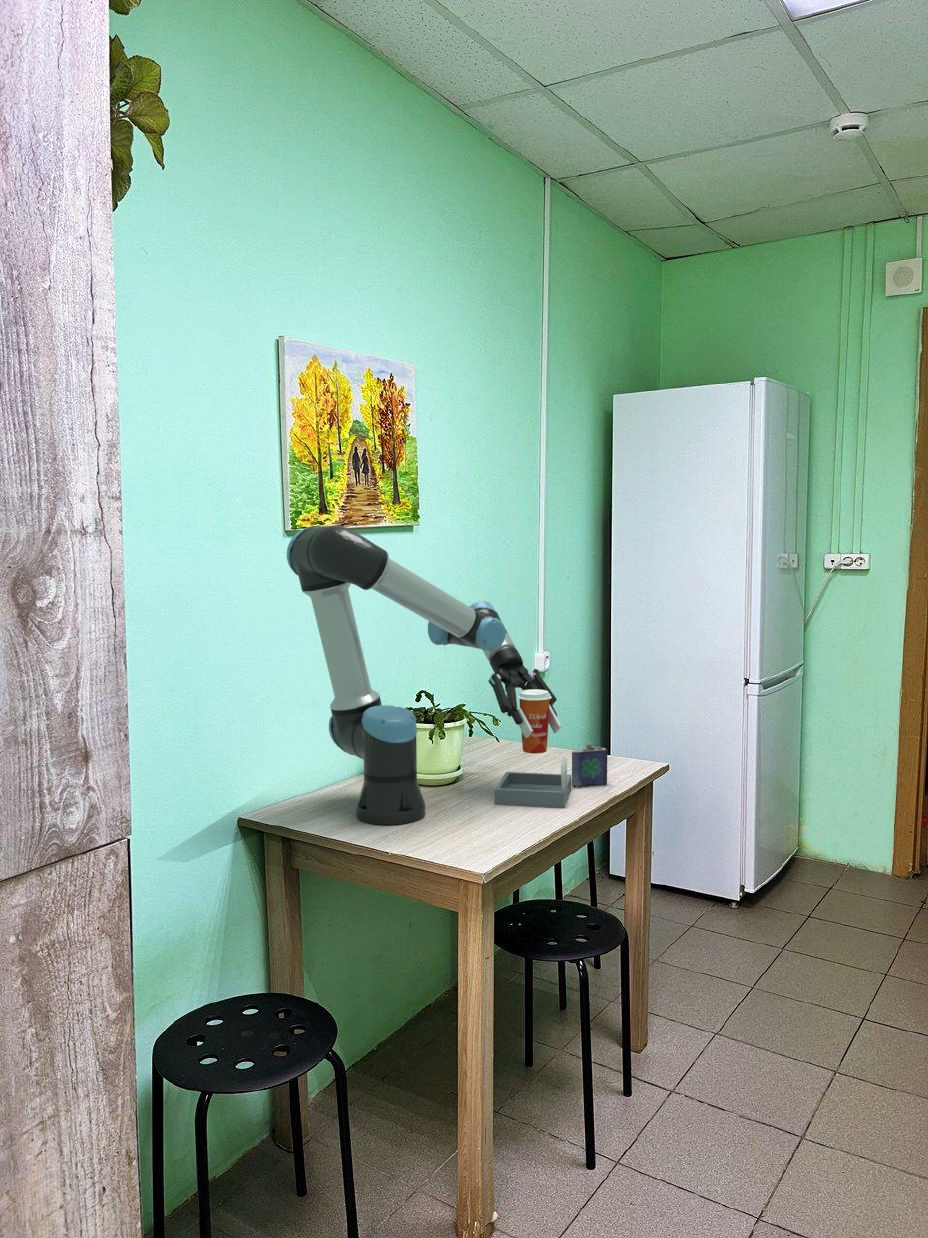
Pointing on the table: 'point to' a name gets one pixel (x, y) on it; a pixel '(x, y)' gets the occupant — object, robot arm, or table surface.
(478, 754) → the table surface
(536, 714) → the paper cup
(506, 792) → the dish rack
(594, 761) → the flask
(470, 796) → the table surface
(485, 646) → the robot arm
